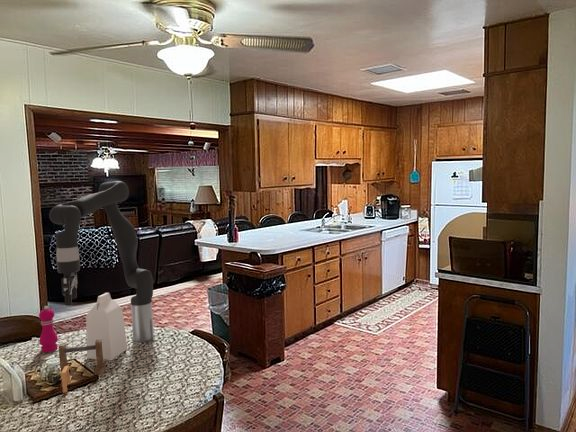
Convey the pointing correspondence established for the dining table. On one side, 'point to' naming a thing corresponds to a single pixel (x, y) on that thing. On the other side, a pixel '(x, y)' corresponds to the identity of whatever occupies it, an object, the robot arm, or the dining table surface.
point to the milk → (106, 328)
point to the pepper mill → (47, 331)
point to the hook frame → (97, 346)
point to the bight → (65, 378)
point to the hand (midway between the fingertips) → (71, 301)
